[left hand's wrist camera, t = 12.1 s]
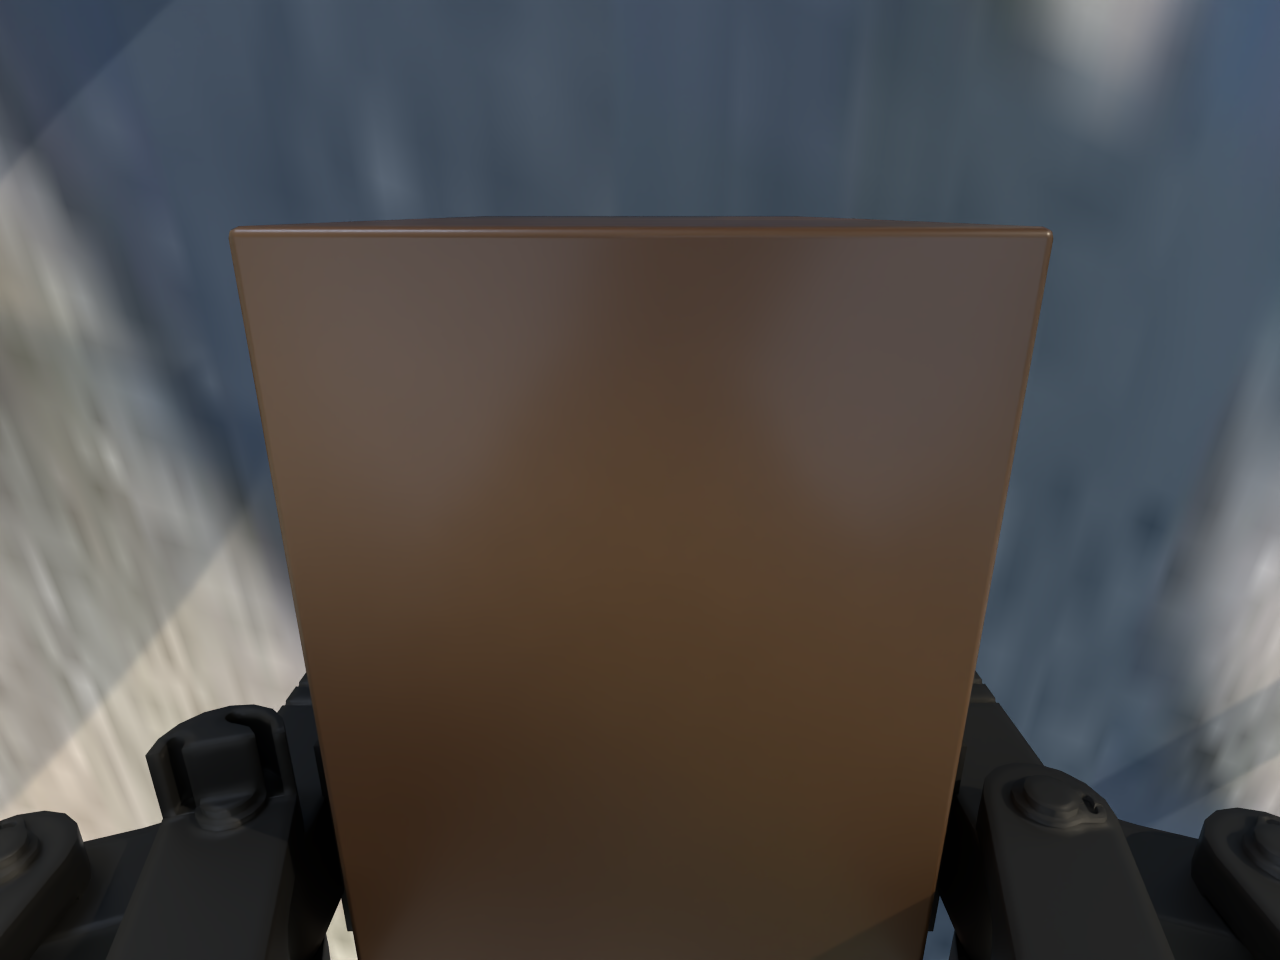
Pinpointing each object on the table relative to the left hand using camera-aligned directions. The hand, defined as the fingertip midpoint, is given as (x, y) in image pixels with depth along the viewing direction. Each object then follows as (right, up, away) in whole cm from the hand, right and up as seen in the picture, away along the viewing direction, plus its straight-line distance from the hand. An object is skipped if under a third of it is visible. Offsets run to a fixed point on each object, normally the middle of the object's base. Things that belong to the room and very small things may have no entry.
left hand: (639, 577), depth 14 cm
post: (0, -21, +8) cm, 23 cm away
